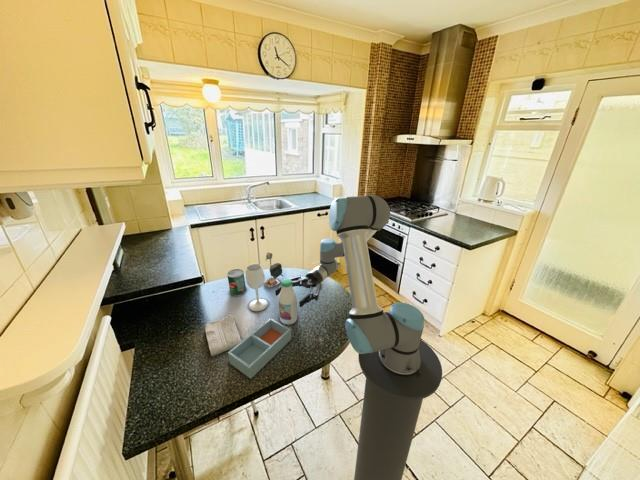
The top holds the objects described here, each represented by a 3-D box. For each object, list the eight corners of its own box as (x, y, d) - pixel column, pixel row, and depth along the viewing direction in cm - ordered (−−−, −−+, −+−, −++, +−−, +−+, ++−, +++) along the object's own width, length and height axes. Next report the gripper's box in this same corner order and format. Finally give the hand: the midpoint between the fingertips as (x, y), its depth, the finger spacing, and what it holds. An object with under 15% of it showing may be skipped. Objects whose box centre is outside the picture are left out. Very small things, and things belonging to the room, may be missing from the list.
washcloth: (233, 318, 113) (232, 312, 112) (243, 346, 99) (243, 340, 98) (204, 328, 108) (203, 322, 107) (211, 359, 94) (210, 352, 93)
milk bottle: (290, 310, 118) (288, 273, 110) (300, 319, 113) (299, 281, 105) (276, 318, 114) (273, 280, 105) (286, 327, 108) (284, 288, 100)
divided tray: (291, 339, 103) (290, 329, 101) (250, 379, 87) (249, 368, 84) (271, 327, 108) (270, 318, 106) (229, 363, 92) (227, 352, 90)
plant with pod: (286, 284, 138) (284, 251, 129) (265, 289, 134) (261, 255, 125) (282, 277, 144) (280, 245, 136) (262, 281, 140) (258, 248, 132)
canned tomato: (248, 287, 135) (246, 269, 130) (241, 296, 128) (238, 278, 123) (235, 285, 136) (232, 268, 132) (227, 294, 129) (223, 276, 125)
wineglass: (256, 314, 116) (251, 274, 108) (245, 305, 122) (240, 267, 113) (271, 305, 122) (268, 267, 113) (260, 297, 127) (256, 260, 119)
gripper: (296, 262, 130) (266, 281, 114) (338, 278, 117) (311, 302, 101) (296, 275, 133) (267, 295, 117) (337, 291, 120) (311, 317, 104)
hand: (287, 298), depth 109 cm, fingers open, 13 cm apart
